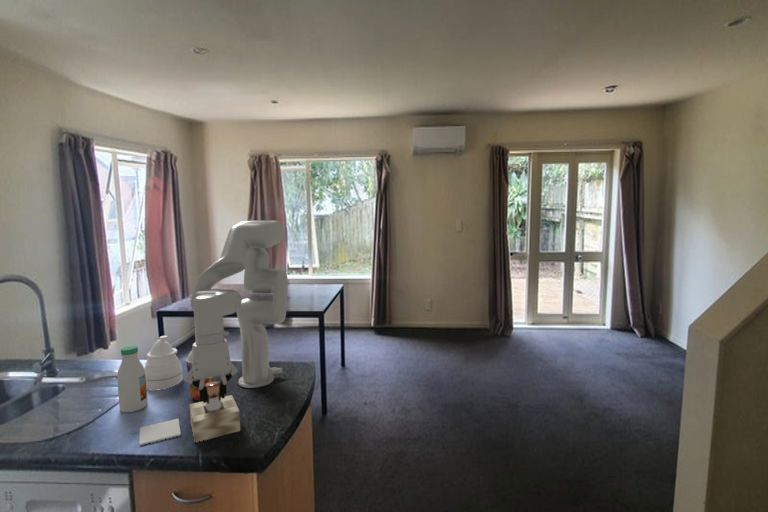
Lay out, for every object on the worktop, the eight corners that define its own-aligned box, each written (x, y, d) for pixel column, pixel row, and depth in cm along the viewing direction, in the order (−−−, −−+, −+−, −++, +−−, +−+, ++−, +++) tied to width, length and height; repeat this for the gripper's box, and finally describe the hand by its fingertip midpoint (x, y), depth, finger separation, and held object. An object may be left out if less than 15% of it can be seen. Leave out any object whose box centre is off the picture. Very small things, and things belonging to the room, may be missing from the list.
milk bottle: (134, 414, 127) (129, 352, 125) (113, 412, 128) (108, 351, 126) (153, 403, 134) (148, 344, 132) (133, 401, 136) (128, 343, 134)
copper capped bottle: (221, 421, 121) (219, 380, 120) (224, 428, 118) (221, 385, 116) (205, 425, 119) (203, 383, 118) (207, 432, 116) (205, 389, 114)
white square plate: (178, 420, 123) (178, 418, 123) (180, 435, 114) (180, 433, 114) (140, 429, 118) (140, 427, 118) (139, 446, 109) (139, 444, 109)
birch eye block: (232, 413, 127) (231, 394, 126) (240, 430, 116) (239, 410, 116) (190, 423, 121) (189, 404, 120) (194, 442, 110) (193, 422, 110)
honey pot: (190, 380, 153) (187, 333, 151) (156, 393, 142) (152, 343, 140) (170, 373, 159) (167, 329, 157) (136, 385, 148) (132, 337, 146)
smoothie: (182, 399, 136) (179, 342, 134) (201, 389, 144) (198, 335, 142) (202, 403, 133) (198, 344, 131) (220, 393, 141) (217, 337, 139)
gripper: (238, 330, 123) (241, 387, 125) (176, 339, 115) (180, 400, 117) (243, 336, 117) (246, 397, 119) (177, 346, 108) (182, 411, 110)
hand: (213, 398), depth 118 cm, fingers closed on copper capped bottle, 4 cm apart
